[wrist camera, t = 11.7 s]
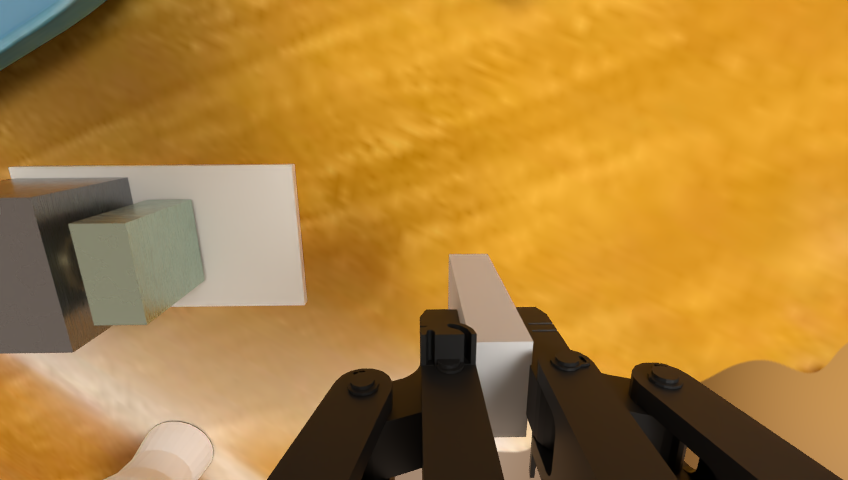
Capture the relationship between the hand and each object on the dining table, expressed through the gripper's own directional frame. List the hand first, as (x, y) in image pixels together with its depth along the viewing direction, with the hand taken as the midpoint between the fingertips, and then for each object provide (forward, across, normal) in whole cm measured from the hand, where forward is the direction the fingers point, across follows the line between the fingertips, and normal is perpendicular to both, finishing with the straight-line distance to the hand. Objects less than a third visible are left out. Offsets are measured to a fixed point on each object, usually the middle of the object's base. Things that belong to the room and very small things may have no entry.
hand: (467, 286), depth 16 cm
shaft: (+23, +32, +5) cm, 39 cm away
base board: (+24, +26, +5) cm, 36 cm away
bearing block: (+23, +33, +5) cm, 41 cm away
